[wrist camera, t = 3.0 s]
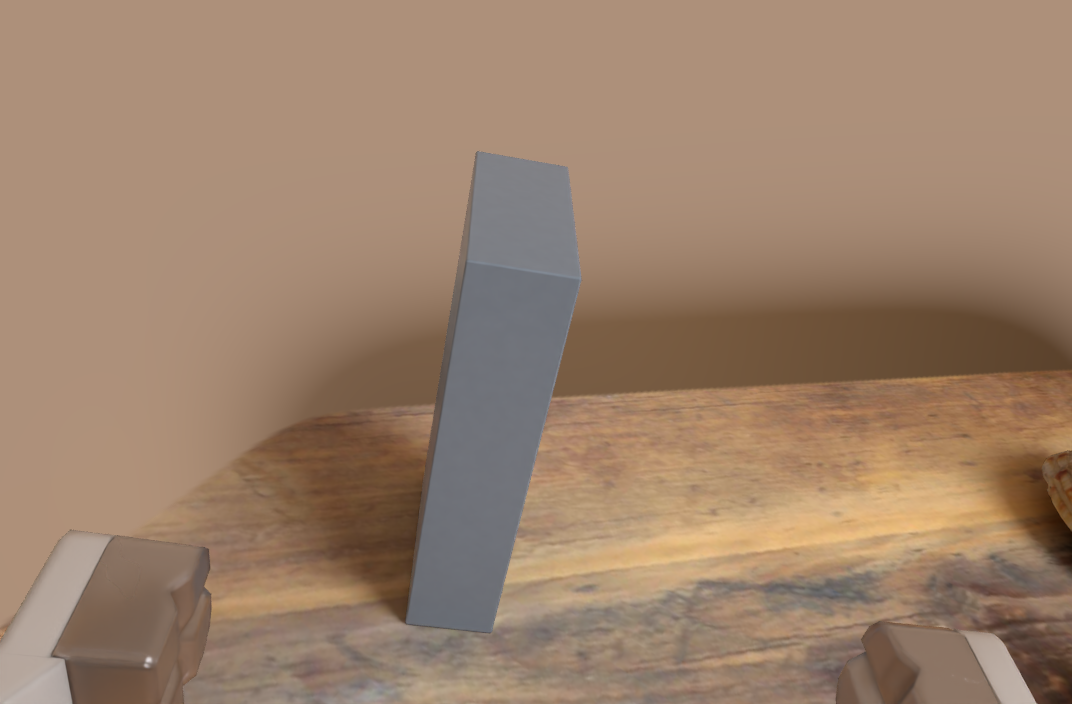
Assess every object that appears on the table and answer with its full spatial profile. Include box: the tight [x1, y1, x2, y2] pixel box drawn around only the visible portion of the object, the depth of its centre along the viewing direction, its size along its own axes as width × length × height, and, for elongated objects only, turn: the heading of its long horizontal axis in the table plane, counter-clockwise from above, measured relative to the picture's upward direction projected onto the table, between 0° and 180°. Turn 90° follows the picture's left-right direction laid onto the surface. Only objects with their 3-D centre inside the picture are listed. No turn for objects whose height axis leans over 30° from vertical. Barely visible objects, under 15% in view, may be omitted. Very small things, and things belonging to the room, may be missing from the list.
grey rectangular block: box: [405, 151, 581, 633], centre depth 24 cm, size 2×6×12 cm, turn 1°
